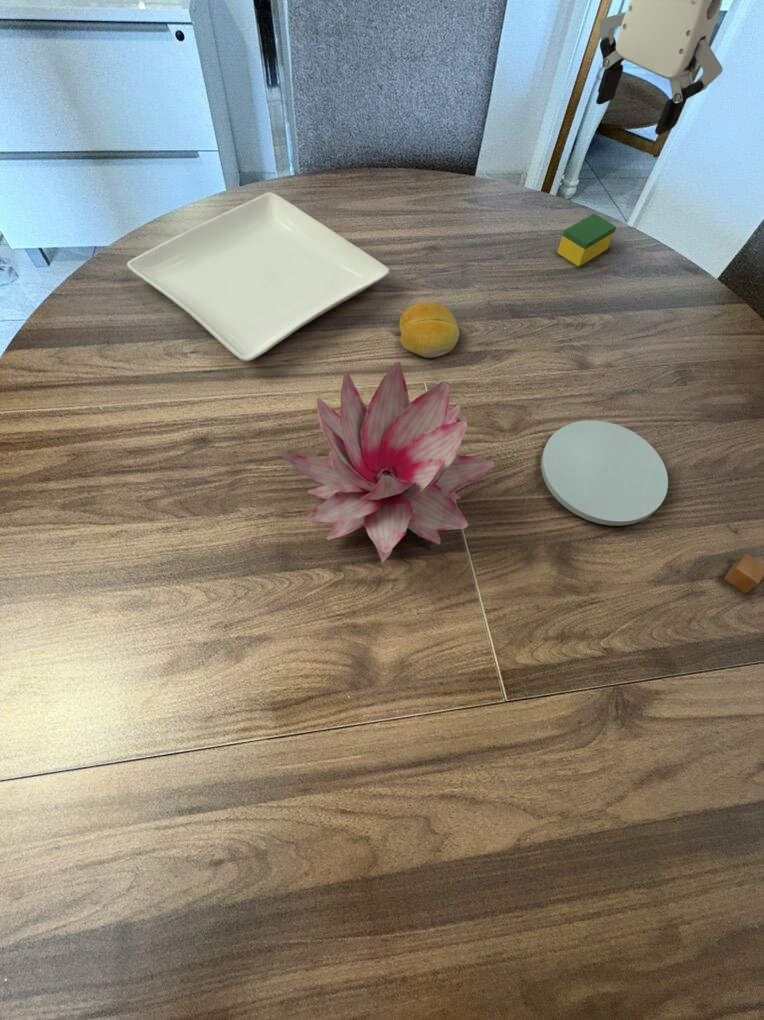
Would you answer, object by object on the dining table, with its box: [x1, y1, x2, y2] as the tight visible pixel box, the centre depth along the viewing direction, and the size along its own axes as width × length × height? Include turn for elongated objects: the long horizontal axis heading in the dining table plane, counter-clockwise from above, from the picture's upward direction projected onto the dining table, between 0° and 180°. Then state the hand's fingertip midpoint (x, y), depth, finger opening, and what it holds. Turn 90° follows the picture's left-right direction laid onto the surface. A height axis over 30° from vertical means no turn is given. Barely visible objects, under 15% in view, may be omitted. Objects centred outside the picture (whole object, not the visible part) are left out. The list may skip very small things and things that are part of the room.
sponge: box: [556, 213, 617, 267], centre depth 98 cm, size 8×4×4 cm, turn 131°
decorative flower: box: [279, 361, 495, 564], centre depth 65 cm, size 21×21×15 cm
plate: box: [540, 419, 669, 527], centre depth 74 cm, size 15×15×2 cm
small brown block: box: [723, 552, 764, 594], centre depth 67 cm, size 3×3×3 cm
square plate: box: [125, 192, 391, 362], centre depth 89 cm, size 27×27×4 cm
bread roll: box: [398, 301, 460, 359], centre depth 85 cm, size 8×9×4 cm
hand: (632, 116), depth 82 cm, fingers open, 9 cm apart
